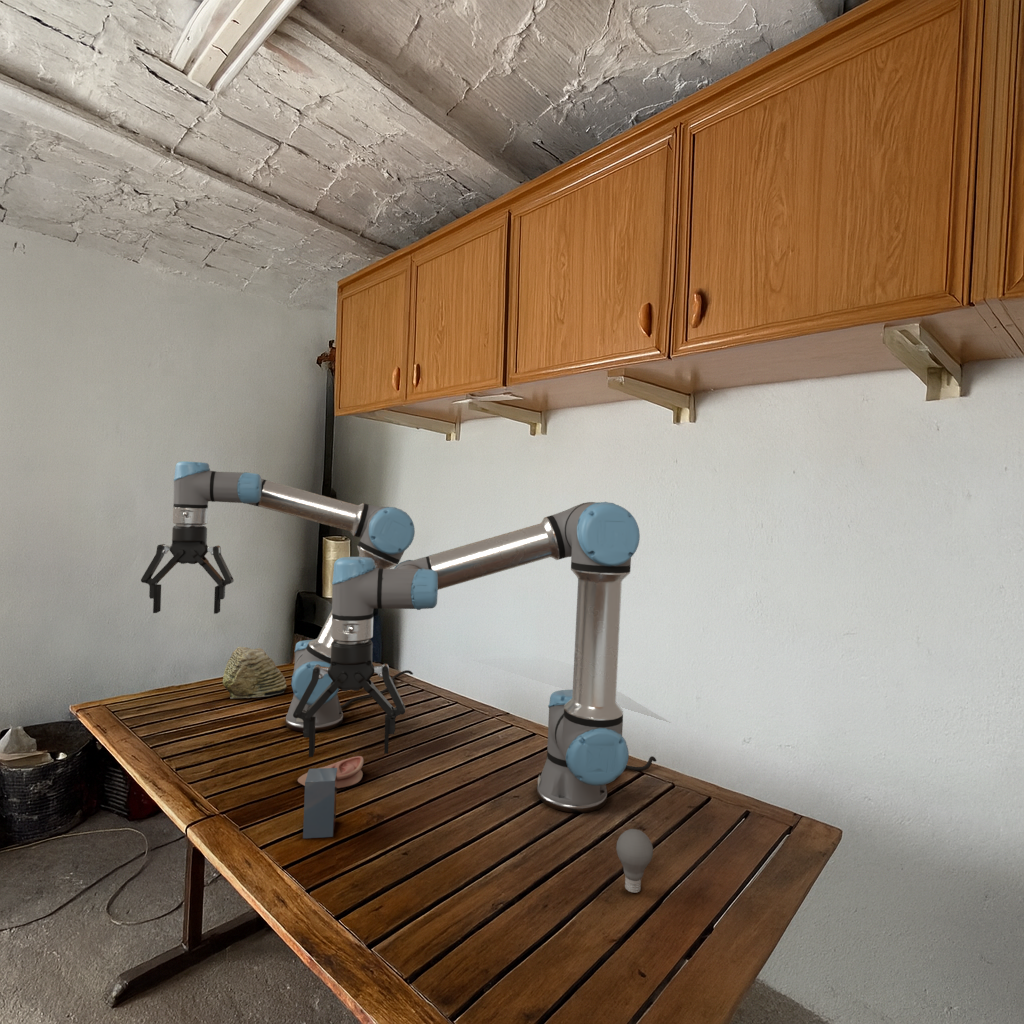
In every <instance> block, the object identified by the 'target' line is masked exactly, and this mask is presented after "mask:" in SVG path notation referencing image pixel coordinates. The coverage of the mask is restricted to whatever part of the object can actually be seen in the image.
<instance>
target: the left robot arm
mask: <svg viewBox="0 0 1024 1024" xmlns="http://www.w3.org/2000/svg"><path fill="white" fill-rule="evenodd" d="M209 502H211V503H215V502H216V503H237V504H246V505H250V506H254V507H258V508H263V509H265V510H269V511H274V512H277V513H280V514H284V515H288V516H292V517H295V518H300V519H303V520H307V521H310V522H314V523H318V524H322V525H325V526H329V527H333V528H337V529H340V530H345V531H348V532H350V534H351V535H352V536H353V537H356V538H359V539H360V540H359V542H358V544H357V545H356V547H357V551H358V553H359V554H358V557H368V558H372V559H373V560H374V563H375V568H379V569H393V568H395V567H396V566H397V565H398V564H399V563H400V561H401V559H402V557H403V555H404V553H405V551H407V549H408V548H409V547H410V546H411V545H412V544H413V541H414V539H415V538H414V537H415V533H416V531H415V530H416V529H415V525H414V521H413V519H412V518H411V516H410V515H409V514H408V513H407V512H406V511H404V510H403V509H401V508H397V507H395V506H379V505H372V504H368V503H365V502H362V503H360V504H355V503H351V502H347V501H343V500H341V499H337V498H333V497H330V496H326V495H323V494H318V493H315V492H312V491H308V490H304V489H301V488H297V487H295V486H290V485H287V484H282V483H279V482H276V481H272V480H268V479H264V478H262V476H261V475H260V473H253V472H248V471H247V472H241V471H240V472H239V471H216V470H211V469H210V465H209V463H208V462H202V461H200V462H199V461H178V462H177V463H176V464H175V468H174V478H173V508H172V523H173V524H174V525H173V526H172V530H171V531H172V534H171V545H167V544H164V543H161V544H157V546H156V551H155V555H154V557H153V558H152V560H151V561H150V563H149V565H148V567H147V569H146V570H145V572H144V573H143V575H142V577H141V578H140V582H141V583H142V584H146V585H148V586H149V593H148V595H149V596H148V597H149V599H151V600H152V601H153V603H152V614H158V613H159V612H161V606H162V604H161V603H162V584H159V582H160V581H161V580H163V578H164V577H165V576H166V575H167V574H169V572H170V571H171V570H172V569H173V568H174V567H175V566H176V565H177V564H180V565H185V564H190V565H196V564H198V565H199V566H201V567H202V569H203V570H204V571H205V572H206V573H207V574H208V576H210V577H211V579H212V580H213V582H214V583H216V584H217V585H216V586H214V595H213V596H214V597H213V600H214V601H213V614H214V615H217V614H219V613H220V612H221V600H225V597H226V586H228V585H230V584H232V583H234V581H235V579H234V577H233V575H232V573H231V572H230V569H229V566H228V565H227V563H226V561H225V559H224V557H223V555H222V548H221V546H220V545H215V546H208V541H207V540H208V527H207V526H206V525H207V524H208V520H209V519H208V515H209V511H208V510H209ZM168 552H170V554H172V557H171V558H170V559H169V561H168V562H167V563H166V564H165V565H164V566H163V567H162V568H161V569H160V570H159V571H158V572H156V571H157V569H158V567H159V565H160V564H161V562H162V560H163V558H164V556H165V555H166V554H168ZM208 553H210V555H211V556H213V558H214V561H215V563H216V565H217V567H218V569H219V571H220V573H221V574H222V576H221V574H220V573H219V572H218V571H217V570H216V569H215V567H214V566H213V565H212V564H211V563H210V561H209V560H208V558H207V557H206V555H207V554H208ZM155 572H156V574H155ZM154 574H155V575H154ZM153 575H154V576H153ZM331 635H332V610H330V613H329V615H328V616H327V619H326V621H325V623H324V624H323V626H322V628H321V630H320V632H319V634H318V636H317V638H315V639H306V640H305V639H304V640H300V641H298V642H296V643H295V648H294V650H293V651H294V667H293V671H292V672H293V673H292V676H291V681H290V683H291V689H292V691H293V695H292V696H293V697H292V699H291V702H290V704H289V708H288V711H287V713H286V715H285V726H286V728H287V729H289V730H291V731H294V732H295V731H296V732H301V733H303V720H302V719H300V718H294V717H293V713H294V711H295V709H296V707H297V705H298V703H299V702H300V700H301V698H302V696H303V694H304V692H305V690H306V689H307V687H308V685H309V683H310V681H311V679H312V673H313V669H314V667H315V665H320V666H321V667H330V665H331V643H332V642H333V641H334V640H333V639H332V638H331ZM405 674H409V675H411V676H413V675H414V672H412V670H409V669H408V670H402V671H400V672H398V673H397V674H395V675H393V676H392V677H391V679H392V681H393V683H394V684H395V679H397V678H398V677H400V676H402V675H405ZM331 682H332V679H331V678H330V677H329V675H328V674H325V675H324V677H323V678H322V679H319V680H318V682H317V685H316V686H315V688H314V690H313V692H312V694H311V696H310V698H309V699H308V701H307V703H306V705H305V707H304V709H303V710H308V709H309V708H310V706H311V705H312V704H313V703H314V702H315V701H316V700H317V698H318V697H319V696H320V695H321V694H322V693H323V692H324V691H325V689H326V688H327V687H328V686H329V685H330V683H331ZM339 691H340V689H339V688H338V689H337V690H336V691H335V692H334V693H333V694H332V695H331V696H330V697H329V698H328V699H327V700H326V702H325V703H324V704H323V705H322V706H321V707H320V708H319V709H318V711H317V712H316V713H315V714H314V715H313V716H312V717H316V720H315V733H316V732H325V731H329V730H332V729H335V728H337V727H339V726H340V725H342V723H343V722H344V713H343V709H345V708H346V707H348V706H349V705H350V704H352V703H354V702H355V703H356V702H359V701H362V700H367V699H371V698H372V696H371V695H370V694H368V695H363V696H358V697H354V698H351V699H349V700H348V701H346V702H345V703H344V704H341V702H340V699H339V695H338V693H339ZM379 691H380V690H379ZM380 692H381V694H382V695H383V694H384V693H387V692H389V691H388V689H387V687H385V688H384V689H383V690H381V691H380ZM372 699H373V698H372Z"/></svg>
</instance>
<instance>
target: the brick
mask: <svg viewBox="0 0 1024 1024" xmlns="http://www.w3.org/2000/svg"><path fill="white" fill-rule="evenodd" d="M337 769H338V768H322V767H318V769H317V768H308V771H307V773H308V774H307V777H306V781H305V786H304V799H303V800H304V801H303V804H304V805H303V823H302V824H303V825H302V827H303V828H302V839H318V838H319V839H320V838H321V839H322V838H334V832H335V826H336V820H337V819H336V817H337V795H338V794H337V793H338V791H337V790H338V788H337Z"/></svg>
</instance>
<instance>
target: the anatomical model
mask: <svg viewBox="0 0 1024 1024" xmlns="http://www.w3.org/2000/svg"><path fill="white" fill-rule="evenodd" d="M363 766H364V757H363V756H361V755H356V756H352V757H347V758H346V759H342V760H340V761H336V762H334V763H331V764H328V765H326V766H322V767H321V768H338V769H337V789H342V788H346V787H350V786H353V785H356V784H358V783H359V782H360V781H361V780H362V779H363V775H364V773H363V771H362V768H363ZM318 768H319V767H318ZM318 768H316V769H318ZM307 774H308V772H306V773H304V774H302V775H300V776H299V777H298V778H297V782H298V784H300V785H302V786H304V787H305V781H306V777H307Z"/></svg>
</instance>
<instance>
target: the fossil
mask: <svg viewBox="0 0 1024 1024" xmlns="http://www.w3.org/2000/svg"><path fill="white" fill-rule="evenodd" d="M222 676H223V677H222V685H223V687H224V688H225V690H226V691H228V693H229V698H230V699H250V698H264V697H271V696H275V695H281V694H284V693H285V691H286V689H287V687H288V686H287V680H286V678H285V676H284V674H283V673H282V672H281V669H279V668H278V667H277V665H276V663H275V662H274V660H273V659H272V658H271V657H270V656H269V655H268V654H267V653H266V652H265V650H264V649H263V648H260V647H258V648H251V647H247V646H246V647H245V646H238V647H237V648H236V649H235V650H233V651H232V653H231V656H230V657H229V659H228V660H227V663H226V666H225V668H224V671H223V675H222Z"/></svg>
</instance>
